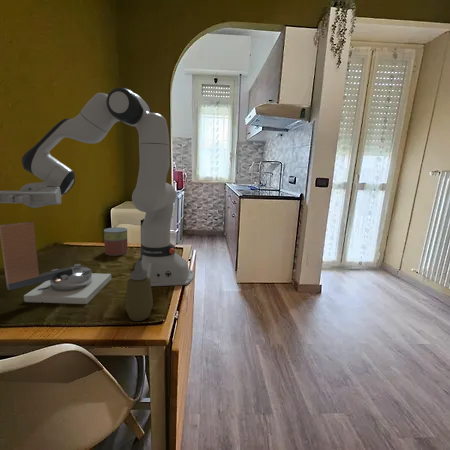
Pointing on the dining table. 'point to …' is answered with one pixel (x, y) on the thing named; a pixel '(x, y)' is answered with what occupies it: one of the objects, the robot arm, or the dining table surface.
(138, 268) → the squeeze bottle
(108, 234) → the canned food
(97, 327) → the dining table surface
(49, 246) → the dining table surface
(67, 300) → the white square board
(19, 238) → the silver brown l-shaped piece
